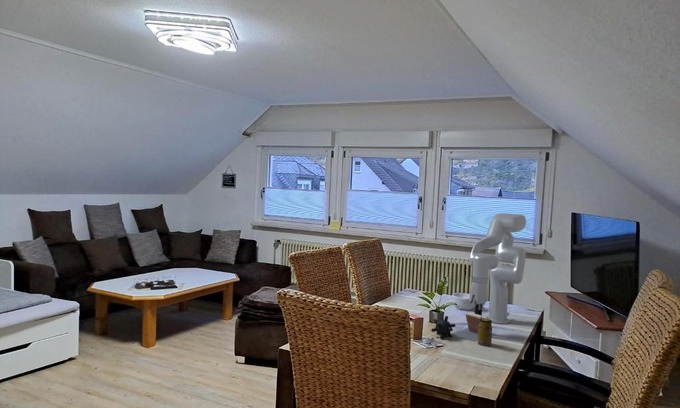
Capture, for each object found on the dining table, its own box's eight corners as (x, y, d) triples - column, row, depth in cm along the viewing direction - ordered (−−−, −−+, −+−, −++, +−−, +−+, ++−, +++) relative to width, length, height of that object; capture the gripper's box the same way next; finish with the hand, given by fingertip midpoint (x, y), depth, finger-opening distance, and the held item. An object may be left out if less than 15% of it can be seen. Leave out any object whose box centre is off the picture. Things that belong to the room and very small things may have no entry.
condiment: (484, 342, 216) (486, 316, 216) (498, 348, 209) (499, 321, 208) (472, 343, 213) (474, 318, 213) (486, 349, 206) (487, 323, 205)
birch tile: (471, 328, 233) (467, 312, 230) (485, 332, 227) (481, 315, 224) (468, 331, 232) (465, 314, 229) (483, 335, 226) (479, 318, 223)
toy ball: (427, 325, 228) (451, 320, 229) (434, 345, 221) (458, 339, 222) (428, 315, 221) (452, 309, 221) (435, 335, 213) (460, 329, 214)
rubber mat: (471, 328, 239) (471, 327, 239) (496, 335, 228) (496, 334, 228) (448, 334, 225) (448, 334, 225) (474, 342, 215) (474, 341, 215)
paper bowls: (473, 313, 270) (474, 299, 270) (448, 308, 278) (448, 295, 278) (479, 308, 283) (480, 295, 283) (455, 304, 291) (456, 291, 291)
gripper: (481, 277, 237) (479, 313, 237) (465, 280, 227) (463, 317, 227) (494, 280, 231) (492, 316, 231) (478, 283, 221) (476, 321, 221)
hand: (478, 317), depth 229 cm, fingers closed
